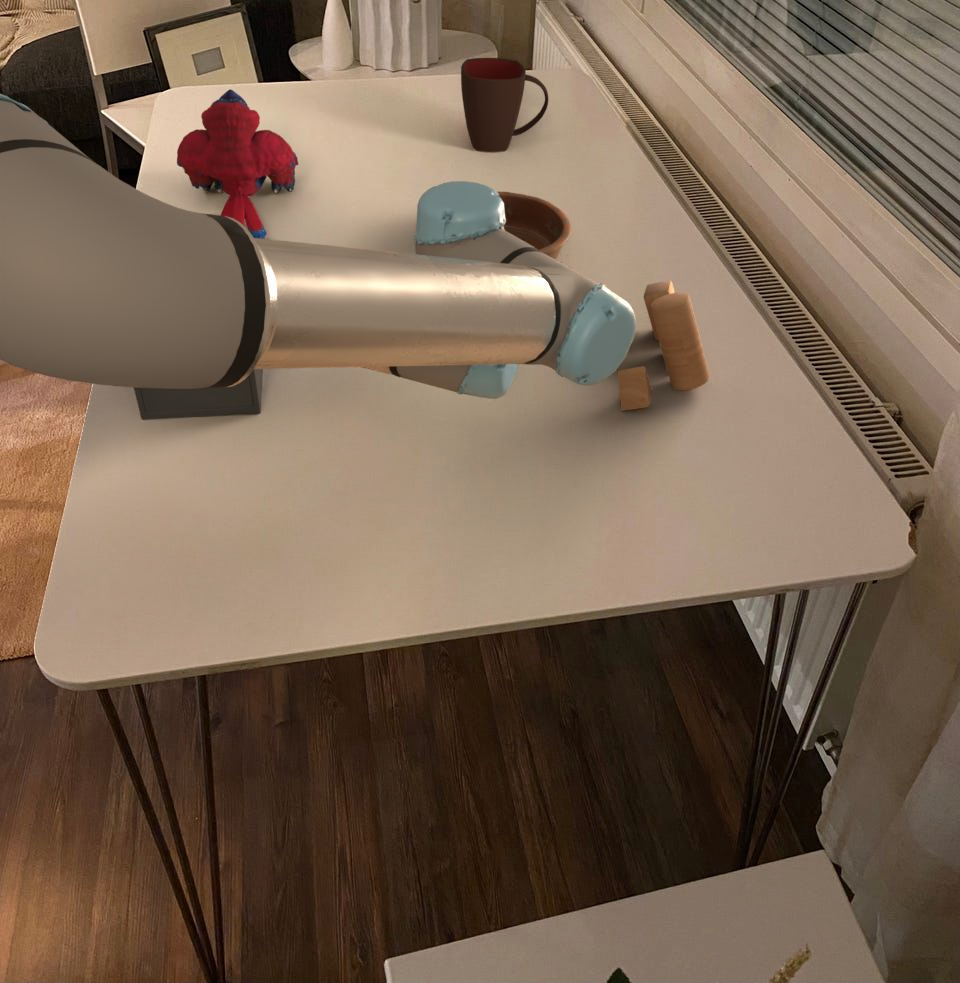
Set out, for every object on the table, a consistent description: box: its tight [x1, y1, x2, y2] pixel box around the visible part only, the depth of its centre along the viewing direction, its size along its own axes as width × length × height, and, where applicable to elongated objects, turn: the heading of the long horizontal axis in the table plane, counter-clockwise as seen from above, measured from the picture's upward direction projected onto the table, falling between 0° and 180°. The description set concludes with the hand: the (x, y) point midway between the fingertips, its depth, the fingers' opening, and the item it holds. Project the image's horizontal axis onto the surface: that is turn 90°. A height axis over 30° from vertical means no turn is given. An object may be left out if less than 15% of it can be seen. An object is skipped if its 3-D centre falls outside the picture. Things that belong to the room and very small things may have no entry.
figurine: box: [176, 88, 299, 239], centre depth 133 cm, size 16×20×18 cm
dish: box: [496, 191, 572, 260], centre depth 128 cm, size 17×22×5 cm
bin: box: [133, 369, 264, 421], centre depth 104 cm, size 12×12×6 cm
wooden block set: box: [617, 279, 710, 412], centre depth 108 cm, size 18×9×10 cm, turn 165°
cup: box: [460, 57, 549, 153], centre depth 152 cm, size 10×14×12 cm
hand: (171, 282), depth 98 cm, fingers open, 13 cm apart
